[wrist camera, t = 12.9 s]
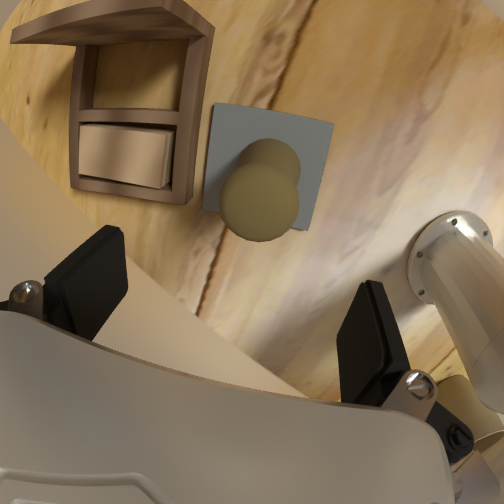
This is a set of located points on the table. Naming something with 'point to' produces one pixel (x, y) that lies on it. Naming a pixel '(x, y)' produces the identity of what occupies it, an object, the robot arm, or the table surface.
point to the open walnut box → (82, 112)
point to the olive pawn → (262, 191)
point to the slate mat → (261, 127)
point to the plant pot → (470, 411)
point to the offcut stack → (127, 153)
